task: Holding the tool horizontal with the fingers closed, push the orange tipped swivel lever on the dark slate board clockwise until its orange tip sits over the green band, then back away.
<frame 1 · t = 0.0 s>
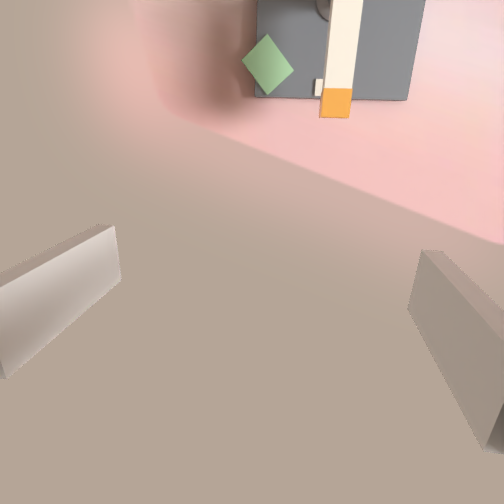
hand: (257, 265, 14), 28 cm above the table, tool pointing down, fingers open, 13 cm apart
orange tipped swivel lever: (339, 34, 28), point 8 cm above the table, hinge at 0.0°
tuner board: (334, 35, 34), on the table
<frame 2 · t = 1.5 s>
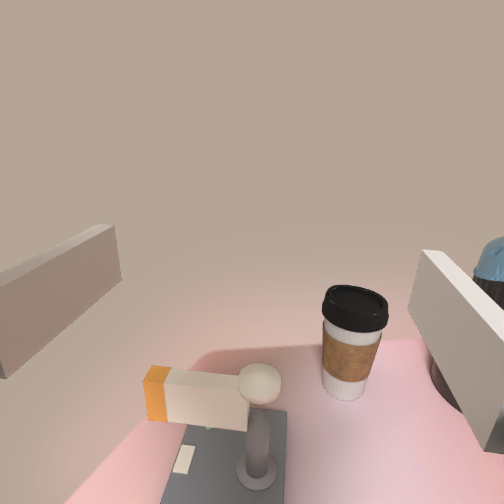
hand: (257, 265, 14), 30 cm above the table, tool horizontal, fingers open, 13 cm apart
orange tipped swivel lever: (214, 420, 33), point 8 cm above the table, hinge at 0.0°
coffee cup: (342, 386, 49), on the table
tuner board: (229, 473, 36), on the table
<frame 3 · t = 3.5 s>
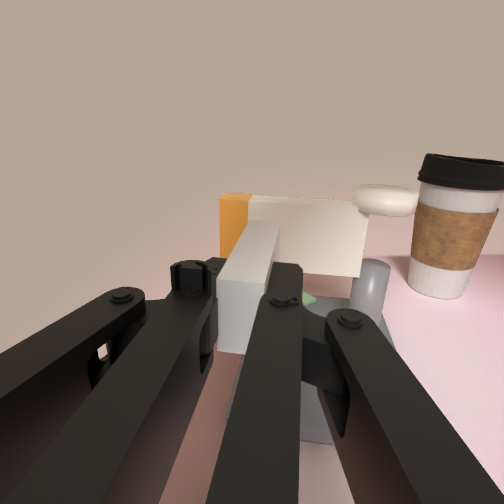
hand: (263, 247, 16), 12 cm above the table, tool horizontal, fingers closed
orange tipped swivel lever: (308, 269, 25), point 8 cm above the table, hinge at 0.0°
coffee cup: (433, 288, 39), on the table
tuner board: (318, 356, 27), on the table
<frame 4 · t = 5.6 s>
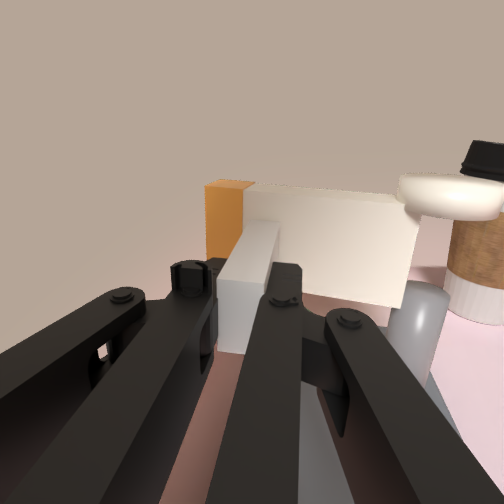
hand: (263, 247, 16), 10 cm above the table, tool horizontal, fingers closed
orange tipped swivel lever: (327, 290, 18), point 8 cm above the table, hinge at -7.8°, touching gripper
coffee cup: (475, 309, 32), on the table
tuner board: (337, 412, 20), on the table
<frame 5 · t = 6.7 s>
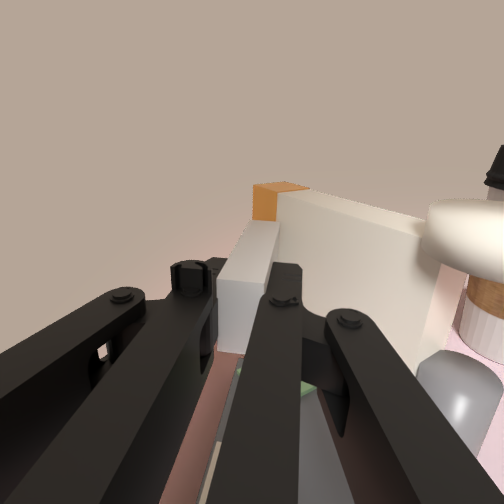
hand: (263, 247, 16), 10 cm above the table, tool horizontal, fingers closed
orange tipped swivel lever: (350, 325, 15), point 8 cm above the table, hinge at -47.4°, touching gripper
coffee cup: (500, 346, 26), on the table
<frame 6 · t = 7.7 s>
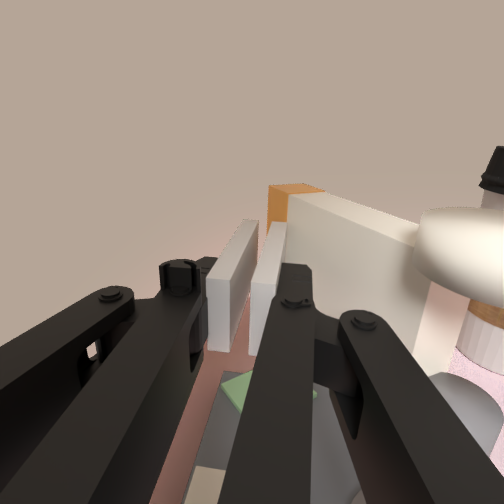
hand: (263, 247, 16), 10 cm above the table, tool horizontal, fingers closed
orange tipped swivel lever: (353, 336, 14), point 8 cm above the table, hinge at -58.1°, touching gripper
coffee cup: (496, 354, 26), on the table
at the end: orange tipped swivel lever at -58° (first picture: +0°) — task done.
